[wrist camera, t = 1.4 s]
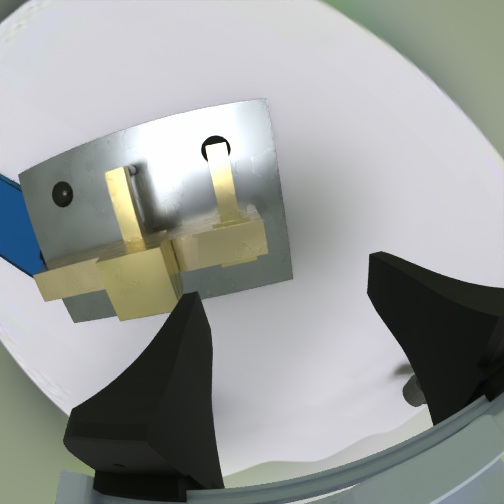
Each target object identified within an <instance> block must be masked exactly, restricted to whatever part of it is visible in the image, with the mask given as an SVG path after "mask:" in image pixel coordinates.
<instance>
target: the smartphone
mask: <svg viewBox="0 0 504 504" xmlns="http://www.w3.org/2000/svg"><path fill="white" fill-rule="evenodd" d="M0 257H2V258H3V259H5V260H6V261H7V262H9V263H10V264H12V265H13V266H15V267H16V268H18V269H19V270H21V271H22V272H24V273H26V274H27V275H29V276H30V277H32V278H34V277H33V275H34V274H35V273H36V272H37V271H38V270H39V269H40V268H41V267H42V266H43V265H44V264H45V263H46V262H45V259H44V257H43V254H42V252H41V249H40V246H39V244H38V241H37V238H36V235H35V232H34V229H33V226H32V223H31V220H30V217H29V214H28V211H27V207H26V204H25V200H24V196H23V193H22V189H21V185H19V184H17V183H15V182H13V181H12V180H10V179H8V178H6V177H5V176H3V175H1V174H0Z"/></svg>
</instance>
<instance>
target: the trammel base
mask: <svg viewBox="0 0 504 504" xmlns="http://www.w3.org/2000/svg"><path fill="white" fill-rule="evenodd" d="M127 165H128V166H134V167H135V169H136V173H135V175H134V176H133V177H131V182H132V186H133V190H134V194H135V197H136V201H137V205H138V209H139V212H140V216H141V219H142V223H143V226H144V229H145V233H146V235H147V234H151V233H155V232H159V231H163V230H167V232H168V235H169V239H170V242H171V246H172V249H173V253H174V256H175V259H176V263H177V266H178V269H179V272H180V275H181V279H182V282H183V285H184V286H183V294H185V293H191V292H196V291H198V293H199V296H200V299H201V300H202V299H206V298H211V297H216V296H220V295H225V294H230V293H234V292H239V291H243V290H248V289H252V288H256V287H261V286H265V285H269V284H274V283H278V282H282V281H286V280H290V279H293V274H292V265H291V257H290V249H289V241H288V234H287V226H286V219H285V212H284V205H283V198H282V191H281V184H280V178H279V171H278V165H277V158H276V152H275V146H274V140H273V134H272V128H271V122H270V117H269V111H268V105H267V100H266V98H264V99H257V100H249V101H243V102H236V103H230V104H225V105H219V106H214V107H209V108H204V109H199V110H194V111H190V112H186V113H181V114H177V115H173V116H169V117H165V118H162V119H158V120H154V121H151V122H147V123H144V124H141V125H137V126H134V127H131V128H128V129H125V130H122V131H119V132H116V133H113V134H110V135H107V136H104V137H101V138H99V139H96V140H93V141H91V142H88V143H86V144H83V145H80V146H78V147H76V148H73V149H71V150H68V151H66V152H64V153H61V154H59V155H57V156H55V157H53V158H50V159H48V160H46V161H44V162H42V163H40V164H38V165H36V166H34V167H32V168H30V169H28V170H26V171H24V172H22V173H20V174H18V176H19V181H20V185H21V189H22V193H23V196H24V200H25V204H26V207H27V211H28V214H29V217H30V220H31V223H32V226H33V229H34V232H35V235H36V238H37V241H38V244H39V246H40V249H41V252H42V254H43V257H44V259H45V262H46V263H45V264H44V265H43V266H42V267H41V268H40V269H39V270H38V271H37V272H36V273H35V274H34V275H33V277H34V280H35V282H36V284H37V286H38V288H39V290H40V293H41V295H42V297H43V299H44V301H45V302H47V301H52V300H56V299H61V298H62V300H63V302H64V304H65V306H66V308H67V310H68V312H69V314H70V316H71V318H72V320H73V322H74V323H78V322H84V321H90V320H96V319H102V318H108V317H114V316H117V314H116V311H115V309H114V307H113V305H112V303H111V300H110V298H109V296H108V294H107V291H106V289H105V287H104V284H103V282H102V280H101V277H100V275H99V272H98V270H97V267H96V265H95V262H96V261H97V260H98V259H99V257H100V256H101V255H102V254H103V252H104V251H105V250H106V249H107V247H108V246H109V245H110V244H112V243H116V242H119V241H123V237H122V234H121V230H120V227H119V224H118V221H117V217H116V214H115V211H114V207H113V204H112V200H111V197H110V193H109V189H108V185H107V181H106V177H105V172H108V171H111V170H114V169H117V168H120V167H123V166H127ZM183 294H182V295H183Z"/></svg>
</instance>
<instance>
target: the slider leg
mask: <svg viewBox="0 0 504 504" xmlns="http://www.w3.org/2000/svg"><path fill="white" fill-rule="evenodd" d="M135 173H136V169H135V167H134V166H128V165H127V166H123V167H120V168H117V169H114V170H111V171H108V172H105V177H106V181H107V185H108V189H109V193H110V197H111V200H112V204H113V207H114V211H115V214H116V217H117V221H118V224H119V227H120V230H121V234H122V237H123V241H119V242H116V243H112V244H110V245H109V246H108V247H107V249H106V250H105V251H104V252H103V254H102V255H101V256H100V257H99V259H98V260H97V261H96V262H95V265H96V267H97V270H98V272H99V275H100V277H101V280H102V282H103V284H104V287H105V289H106V291H107V294H108V296H109V298H110V300H111V303H112V305H113V307H114V309H115V311H116V314H117V316H118V318H119V320H120V321H125V320H131V319H137V318H142V317H148V316H153V315H158V314H164V313H169V312H172V311H173V309H174V308H175V306H176V304H177V303H178V301H179V300H180V298H181V297H182V294H183V286H184V285H183V282H182V279H181V275H180V272H179V269H178V266H177V263H176V259H175V256H174V253H173V249H172V246H171V242H170V239H169V235H168V232H167V230H163V231H159V232H155V233H151V234H147V235H146V233H145V229H144V226H143V223H142V219H141V216H140V212H139V209H138V205H137V201H136V197H135V194H134V190H133V186H132V182H131V177H133V176H134V175H135Z"/></svg>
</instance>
